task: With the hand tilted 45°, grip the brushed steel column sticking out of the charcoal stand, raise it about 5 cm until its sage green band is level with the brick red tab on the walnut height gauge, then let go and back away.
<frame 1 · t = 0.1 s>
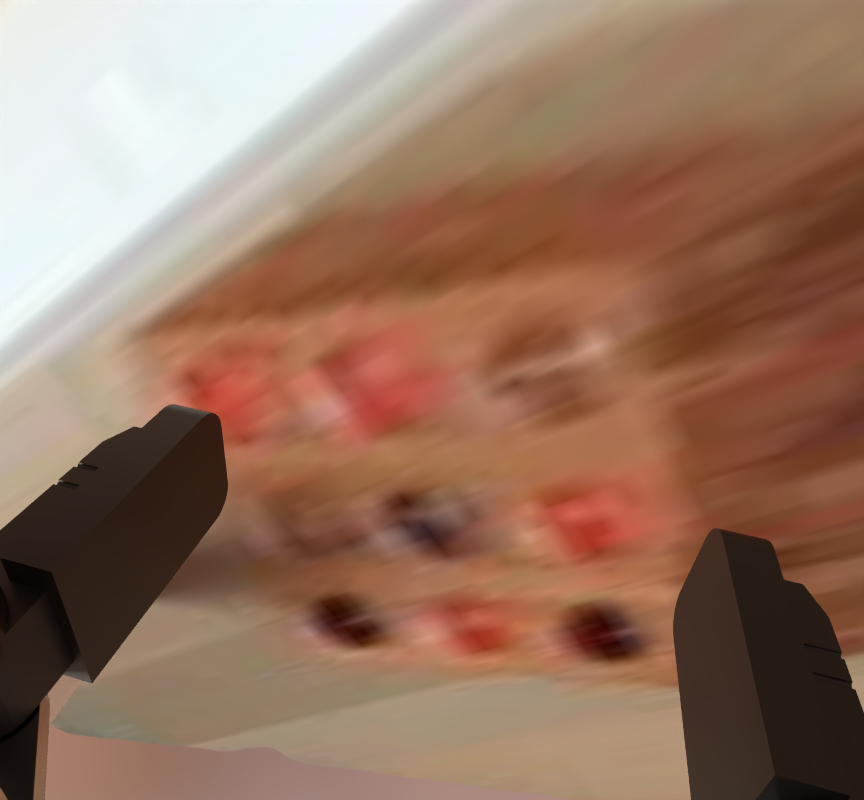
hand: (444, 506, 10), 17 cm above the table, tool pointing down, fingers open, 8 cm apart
cylindrical container: (105, 569, 49), on the table
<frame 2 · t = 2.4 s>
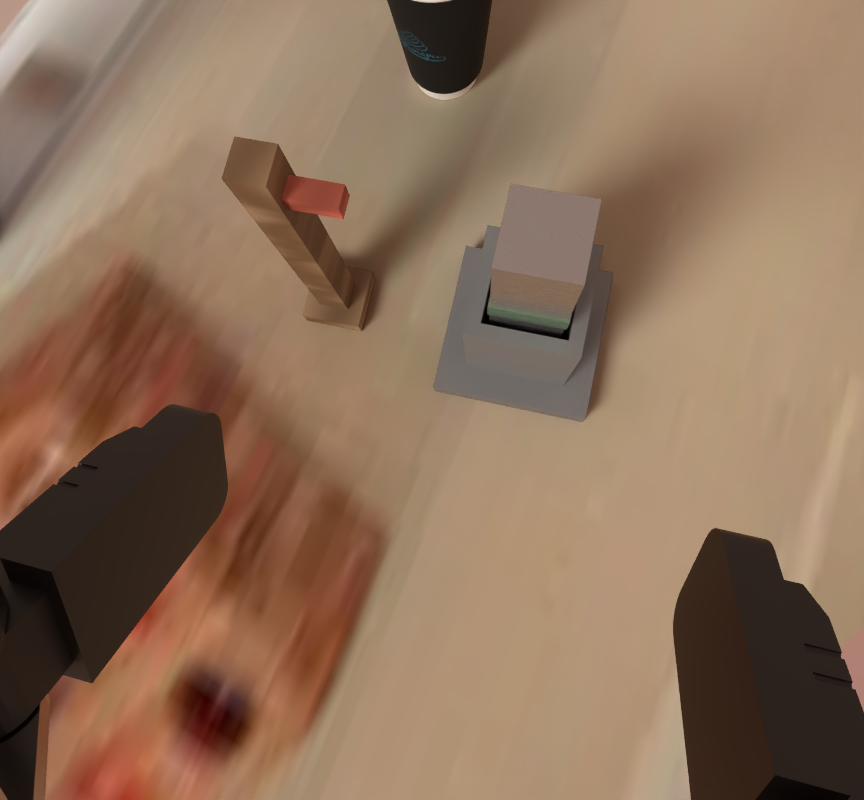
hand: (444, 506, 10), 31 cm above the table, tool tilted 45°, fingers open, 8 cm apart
steel column: (533, 289, 34), point 9 cm above the table, slide at 0.0 cm
height gauge: (341, 298, 44), on the table
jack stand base: (522, 335, 42), on the table
dixie cup: (446, 73, 47), on the table
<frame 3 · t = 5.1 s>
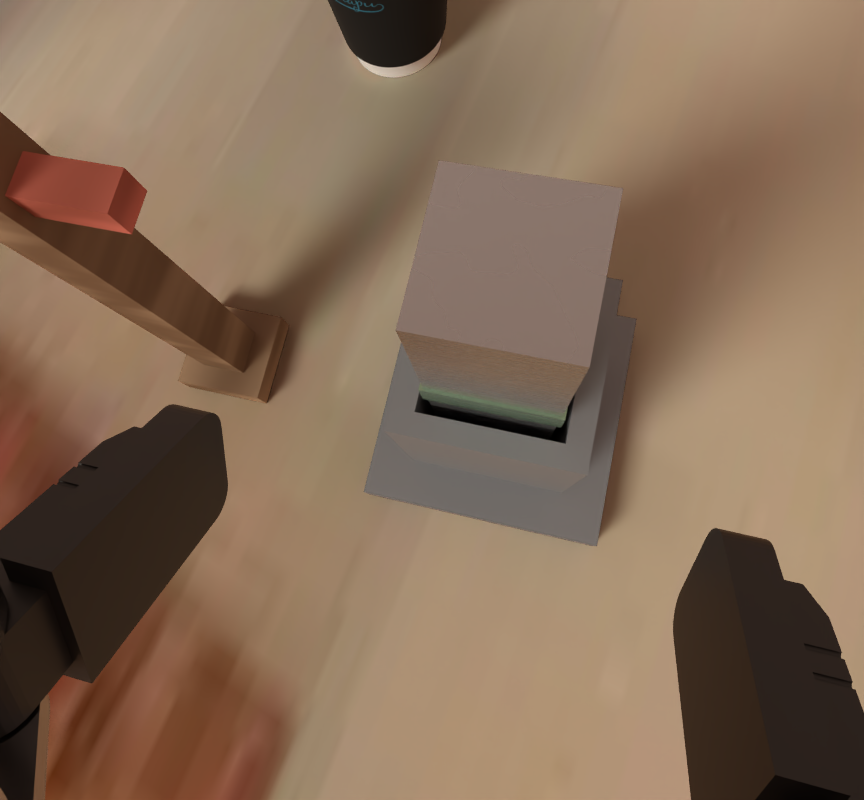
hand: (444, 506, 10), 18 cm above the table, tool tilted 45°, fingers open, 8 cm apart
steel column: (504, 355, 20), point 9 cm above the table, slide at 0.0 cm
height gauge: (239, 356, 30), on the table
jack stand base: (501, 411, 29), on the table
dixie cup: (398, 42, 34), on the table
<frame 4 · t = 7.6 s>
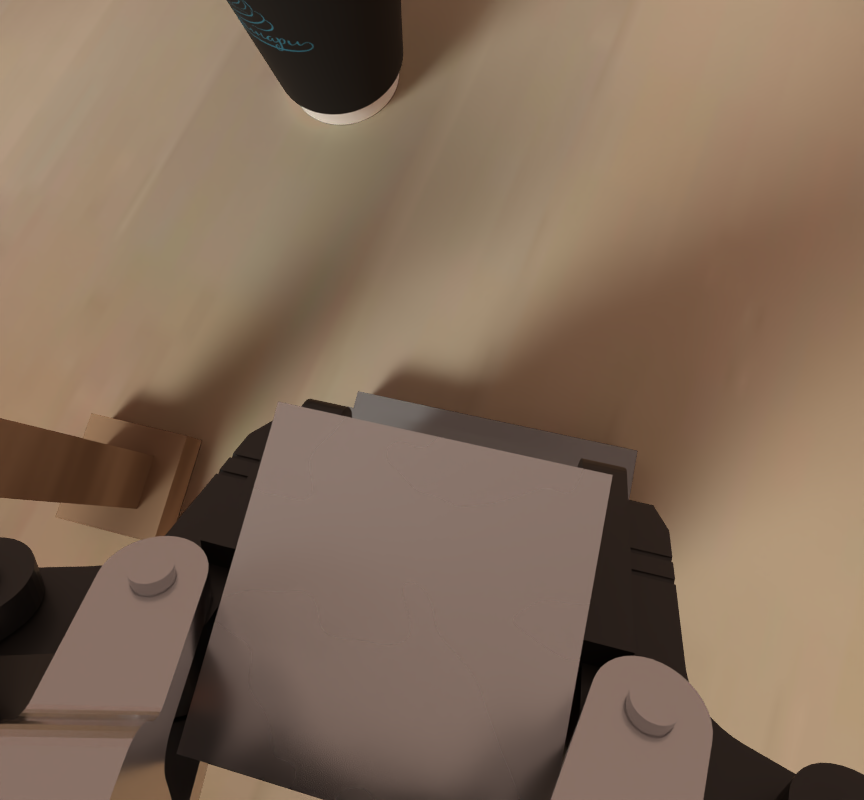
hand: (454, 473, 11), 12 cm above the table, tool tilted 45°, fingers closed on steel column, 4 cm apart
steel column: (445, 575, 14), point 9 cm above the table, slide at 0.0 cm, touching gripper
height gauge: (139, 479, 24), on the table
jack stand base: (464, 561, 22), on the table
dixie cup: (346, 80, 28), on the table
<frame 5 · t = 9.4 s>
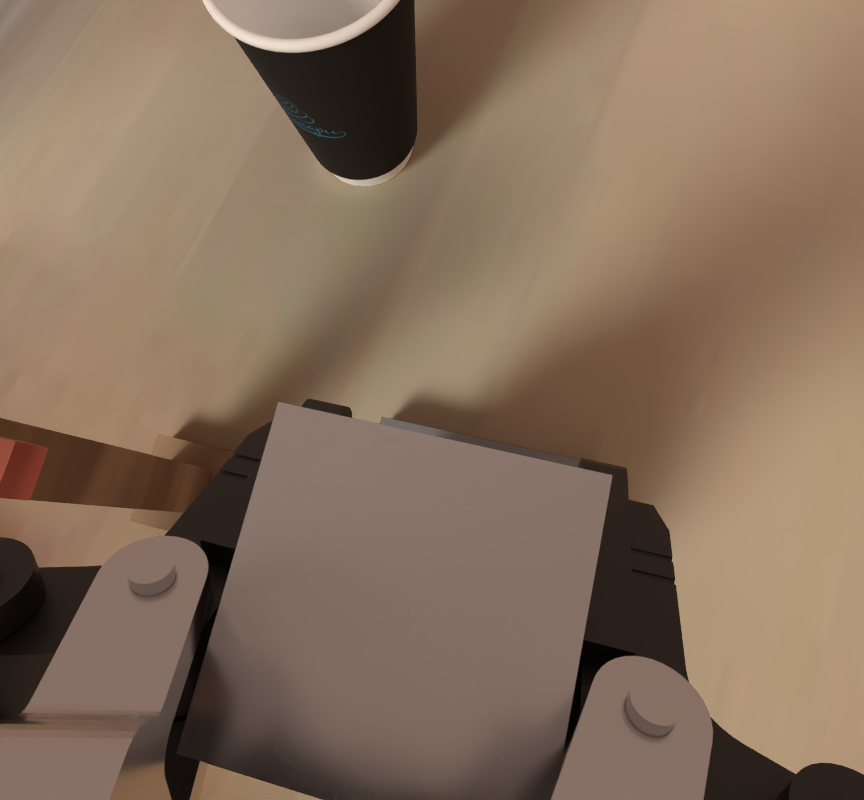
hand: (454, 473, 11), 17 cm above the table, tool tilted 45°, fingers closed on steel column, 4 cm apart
steel column: (445, 575, 14), point 14 cm above the table, slide at 4.8 cm, touching gripper
height gauge: (197, 488, 29), on the table
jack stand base: (469, 557, 27), on the table
dixie cup: (368, 147, 32), on the table
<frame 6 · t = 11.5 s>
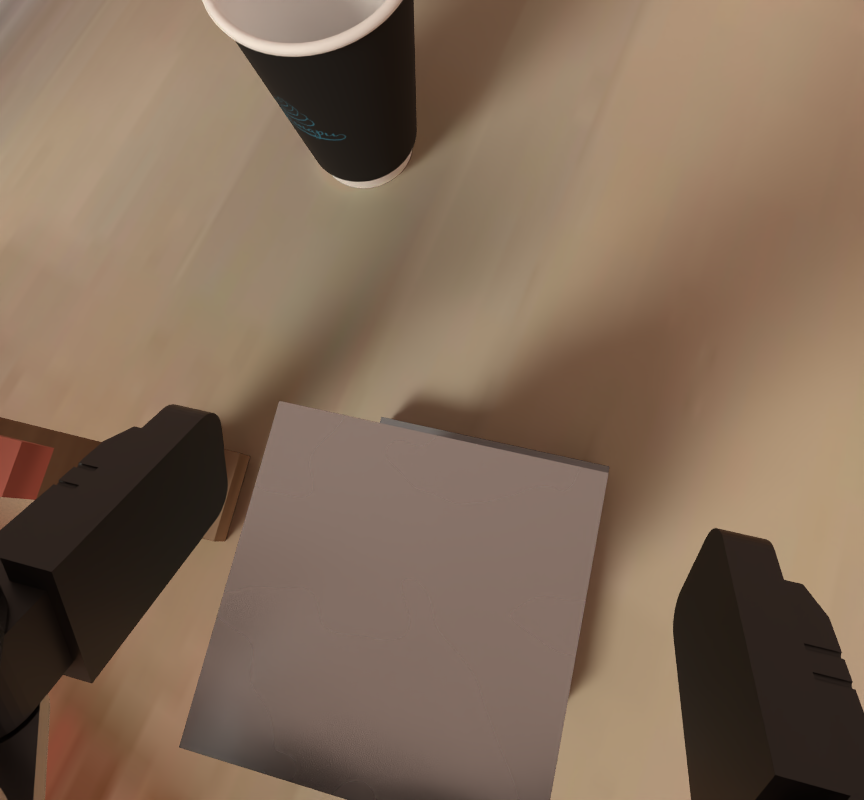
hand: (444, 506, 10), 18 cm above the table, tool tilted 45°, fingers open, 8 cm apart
steel column: (444, 573, 14), point 14 cm above the table, slide at 4.9 cm
height gauge: (198, 488, 29), on the table
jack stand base: (468, 556, 27), on the table
dixie cup: (368, 149, 32), on the table
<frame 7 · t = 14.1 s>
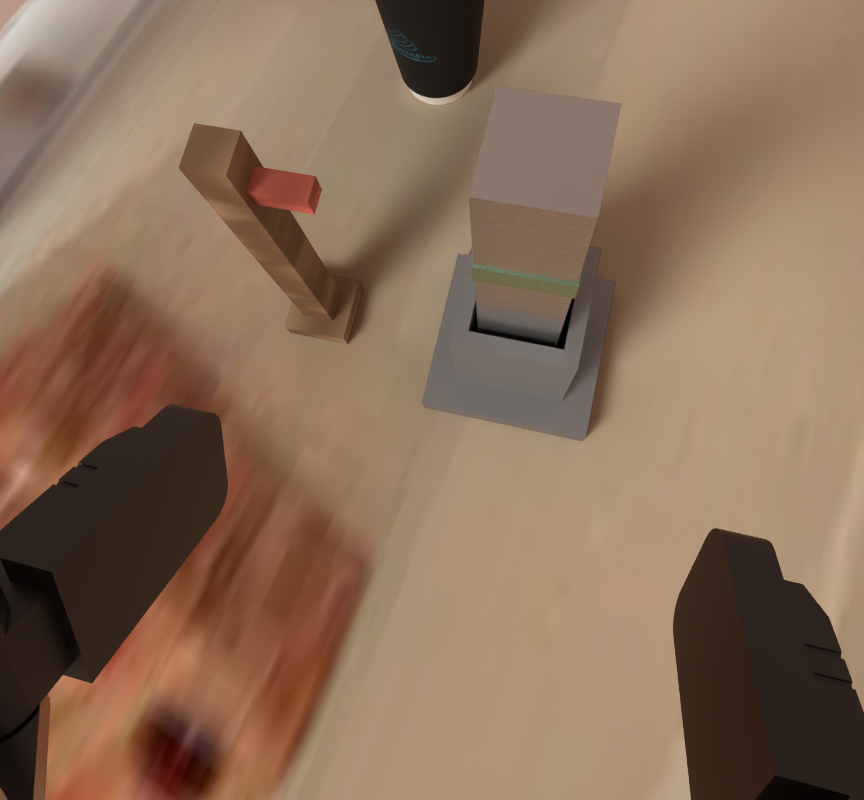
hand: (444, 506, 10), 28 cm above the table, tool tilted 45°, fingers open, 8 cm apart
steel column: (531, 250, 26), point 14 cm above the table, slide at 4.9 cm
height gauge: (326, 310, 42), on the table
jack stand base: (518, 348, 40), on the table
dixie cup: (440, 78, 45), on the table
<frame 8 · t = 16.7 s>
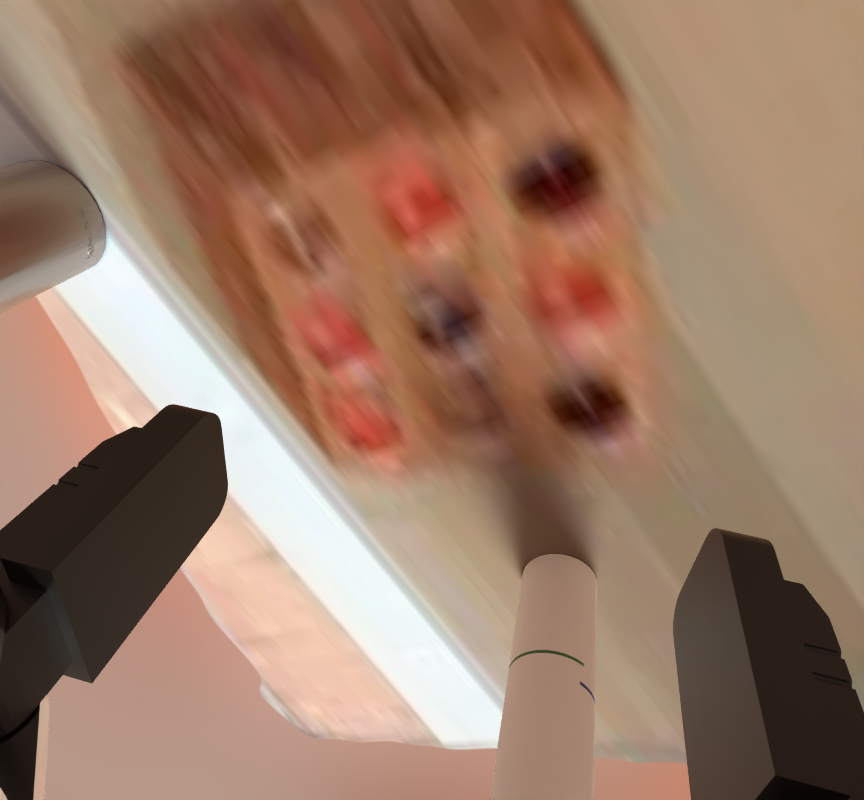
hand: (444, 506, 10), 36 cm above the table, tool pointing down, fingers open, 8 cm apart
cylindrical container: (559, 579, 61), on the table
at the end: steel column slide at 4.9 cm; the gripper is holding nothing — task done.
